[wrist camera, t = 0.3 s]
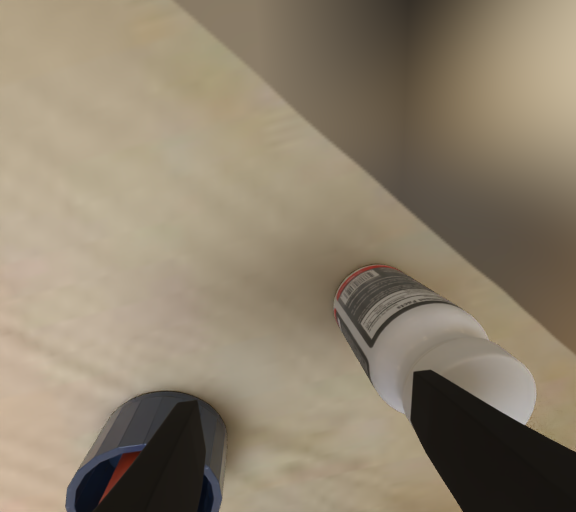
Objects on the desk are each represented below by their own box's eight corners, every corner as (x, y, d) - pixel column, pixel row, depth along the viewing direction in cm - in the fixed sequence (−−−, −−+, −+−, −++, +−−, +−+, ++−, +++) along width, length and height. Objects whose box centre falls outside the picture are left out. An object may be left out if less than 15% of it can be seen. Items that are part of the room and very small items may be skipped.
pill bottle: (403, 336, 21) (526, 468, 11) (328, 338, 20) (392, 479, 11) (416, 262, 20) (569, 341, 10) (335, 260, 19) (417, 345, 9)
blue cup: (233, 476, 23) (229, 540, 19) (117, 495, 22) (87, 566, 18) (219, 383, 20) (211, 434, 16) (89, 400, 20) (45, 458, 15)
